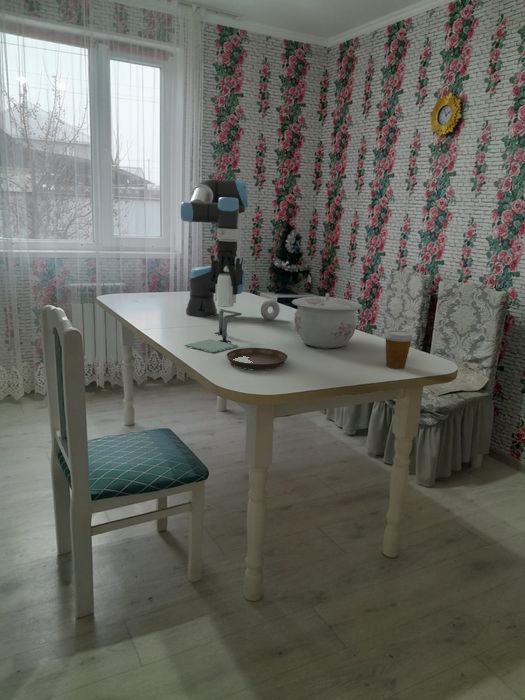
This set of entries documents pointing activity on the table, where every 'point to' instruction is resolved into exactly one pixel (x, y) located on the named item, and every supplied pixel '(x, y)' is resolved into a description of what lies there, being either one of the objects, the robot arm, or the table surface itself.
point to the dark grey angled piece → (225, 324)
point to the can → (224, 290)
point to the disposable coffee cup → (397, 348)
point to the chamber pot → (325, 321)
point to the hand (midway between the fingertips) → (225, 301)
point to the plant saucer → (258, 358)
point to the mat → (211, 345)
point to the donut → (265, 309)
